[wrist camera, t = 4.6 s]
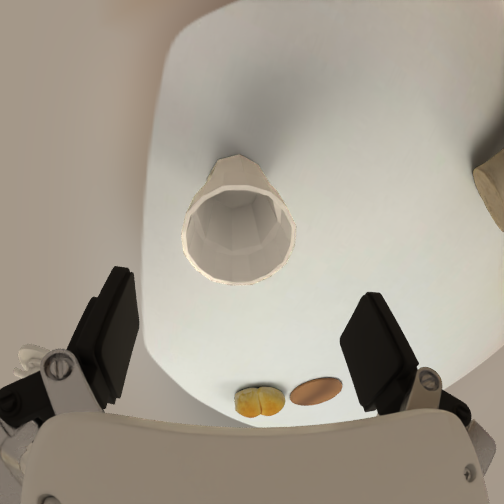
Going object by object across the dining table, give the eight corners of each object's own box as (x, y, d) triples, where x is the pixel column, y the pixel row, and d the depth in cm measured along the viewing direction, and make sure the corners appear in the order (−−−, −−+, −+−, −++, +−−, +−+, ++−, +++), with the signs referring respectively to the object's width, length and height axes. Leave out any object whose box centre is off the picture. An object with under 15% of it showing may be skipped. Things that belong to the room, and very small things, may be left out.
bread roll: (281, 403, 48) (284, 421, 45) (234, 406, 47) (235, 424, 44) (287, 382, 44) (290, 402, 40) (234, 385, 43) (235, 405, 40)
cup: (185, 176, 25) (157, 231, 15) (243, 132, 23) (252, 160, 14) (228, 226, 28) (229, 301, 18) (284, 188, 26) (315, 248, 17)
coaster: (283, 404, 48) (284, 406, 48) (299, 378, 43) (299, 380, 43) (330, 402, 50) (330, 403, 50) (350, 376, 45) (350, 377, 45)
